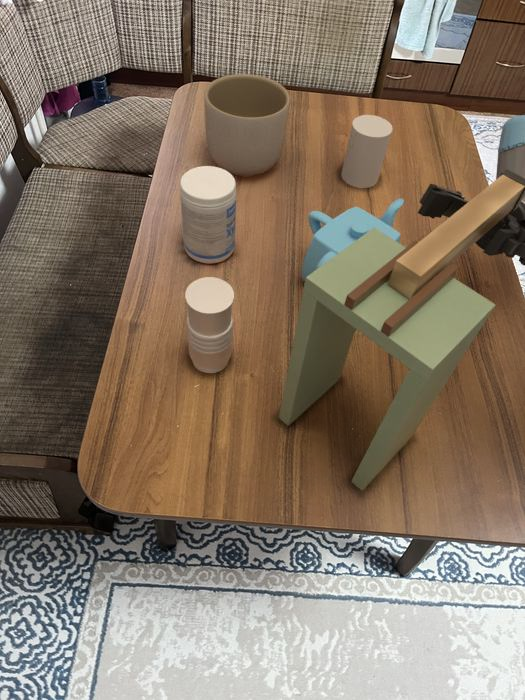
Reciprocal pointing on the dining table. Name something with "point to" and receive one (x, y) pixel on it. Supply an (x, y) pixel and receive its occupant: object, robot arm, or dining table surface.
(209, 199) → the supplement tub
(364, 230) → the teapot
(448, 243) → the slide bar
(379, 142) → the white cylinder
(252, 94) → the planter
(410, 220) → the dining table surface
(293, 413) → the shelf stand
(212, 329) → the candle
